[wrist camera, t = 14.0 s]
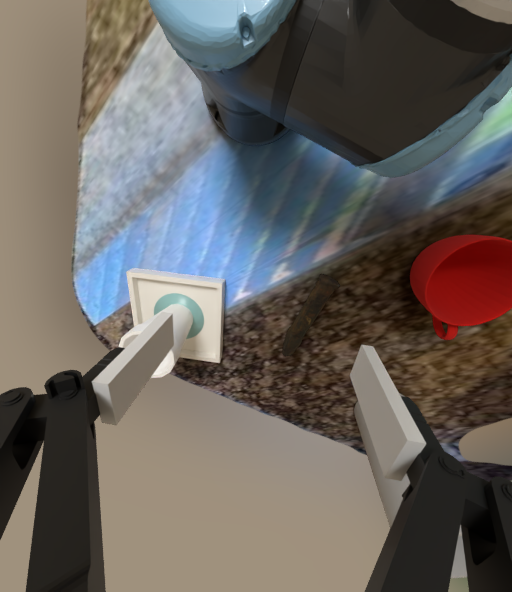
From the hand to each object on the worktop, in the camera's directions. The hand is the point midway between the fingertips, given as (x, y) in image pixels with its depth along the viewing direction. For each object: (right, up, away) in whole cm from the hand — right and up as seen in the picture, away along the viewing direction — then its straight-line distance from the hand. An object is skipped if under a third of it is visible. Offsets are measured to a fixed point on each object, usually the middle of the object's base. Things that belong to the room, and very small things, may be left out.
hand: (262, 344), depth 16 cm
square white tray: (-17, -1, +35) cm, 39 cm away
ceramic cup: (+31, +7, +26) cm, 41 cm away
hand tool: (+10, 0, +32) cm, 33 cm away
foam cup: (-17, -1, +34) cm, 38 cm away
